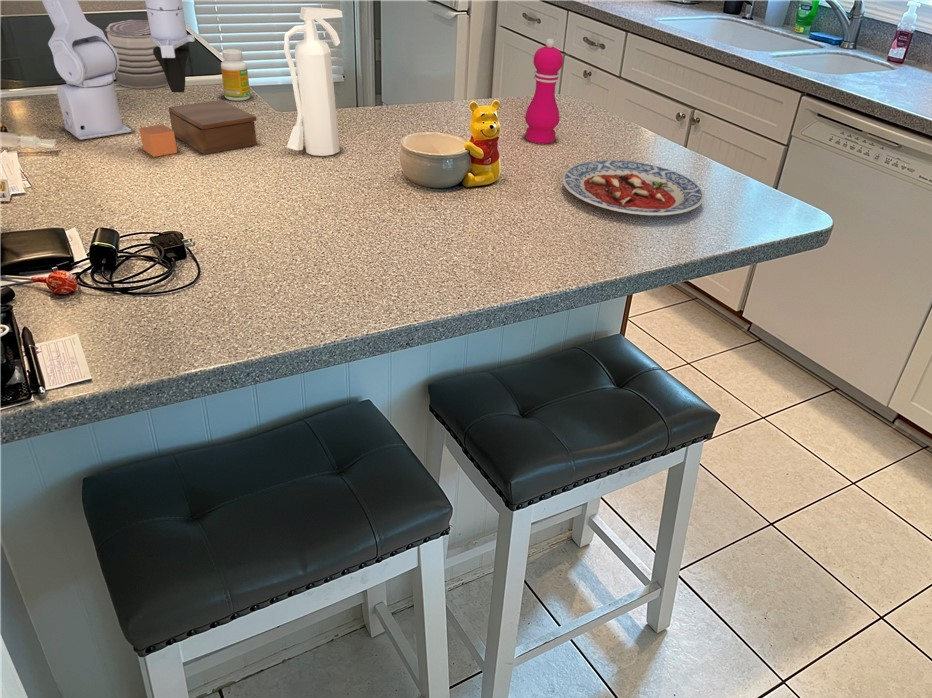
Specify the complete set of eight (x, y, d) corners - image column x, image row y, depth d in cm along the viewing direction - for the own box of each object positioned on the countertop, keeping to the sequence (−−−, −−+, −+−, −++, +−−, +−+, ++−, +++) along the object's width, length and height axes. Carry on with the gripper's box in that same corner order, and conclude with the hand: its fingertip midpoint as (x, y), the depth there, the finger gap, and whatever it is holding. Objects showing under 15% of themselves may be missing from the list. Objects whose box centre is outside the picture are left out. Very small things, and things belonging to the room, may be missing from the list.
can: (182, 83, 176) (173, 26, 169) (138, 92, 168) (127, 33, 161) (149, 72, 181) (139, 17, 174) (105, 81, 173) (93, 23, 166)
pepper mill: (554, 146, 161) (565, 44, 150) (520, 141, 162) (529, 39, 150) (559, 136, 167) (571, 37, 155) (526, 131, 168) (535, 32, 156)
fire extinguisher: (280, 148, 147) (266, 4, 132) (340, 142, 152) (333, 3, 138) (292, 160, 142) (279, 12, 128) (353, 153, 148) (348, 10, 134)
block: (153, 157, 138) (149, 134, 136) (143, 149, 140) (138, 127, 138) (177, 152, 141) (173, 130, 138) (166, 145, 143) (163, 124, 141)
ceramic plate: (589, 228, 128) (591, 211, 126) (543, 172, 148) (544, 156, 146) (727, 223, 135) (731, 206, 133) (665, 170, 155) (668, 155, 153)
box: (257, 144, 147) (254, 121, 145) (204, 154, 141) (200, 130, 139) (224, 126, 154) (221, 104, 152) (173, 135, 148) (169, 111, 146)
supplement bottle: (246, 102, 169) (240, 55, 163) (221, 99, 168) (215, 52, 163) (253, 95, 173) (248, 49, 167) (229, 93, 173) (223, 47, 167)
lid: (256, 120, 144) (256, 116, 144) (202, 129, 138) (201, 125, 137) (221, 103, 152) (221, 99, 151) (169, 111, 146) (168, 107, 145)
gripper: (188, 17, 124) (201, 103, 132) (191, 0, 135) (203, 80, 143) (141, 15, 122) (156, 103, 130) (148, -2, 133) (162, 80, 141)
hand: (178, 91), depth 137 cm, fingers closed
